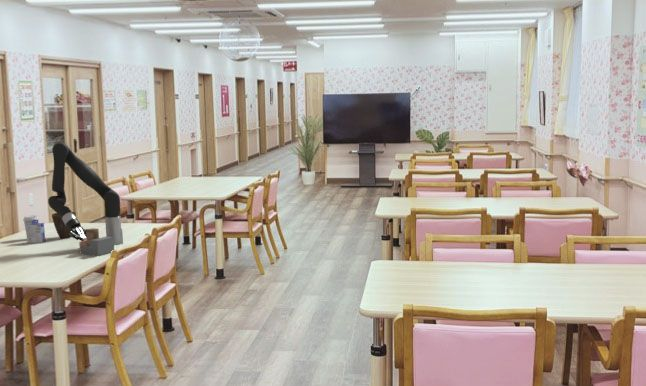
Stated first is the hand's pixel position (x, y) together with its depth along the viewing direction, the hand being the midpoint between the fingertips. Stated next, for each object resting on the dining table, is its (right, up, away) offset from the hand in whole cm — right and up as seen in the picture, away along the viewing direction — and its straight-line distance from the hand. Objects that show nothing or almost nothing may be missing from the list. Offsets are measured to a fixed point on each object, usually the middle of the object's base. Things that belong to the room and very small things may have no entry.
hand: (86, 243), depth 433 cm
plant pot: (-29, +1, +47) cm, 55 cm away
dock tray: (+5, -4, -2) cm, 7 cm away
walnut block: (+5, -3, -3) cm, 7 cm away
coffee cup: (-50, 0, +45) cm, 67 cm away
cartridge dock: (+8, -5, -4) cm, 11 cm away
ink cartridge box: (-43, -2, +33) cm, 54 cm away
